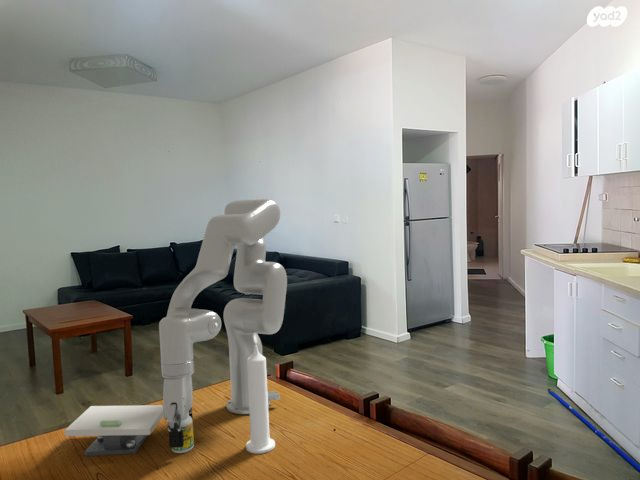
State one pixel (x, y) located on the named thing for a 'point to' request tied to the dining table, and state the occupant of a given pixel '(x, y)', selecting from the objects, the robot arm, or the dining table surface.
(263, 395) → the candle
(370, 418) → the dining table surface
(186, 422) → the supplement bottle
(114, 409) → the level board
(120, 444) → the tribrach base
